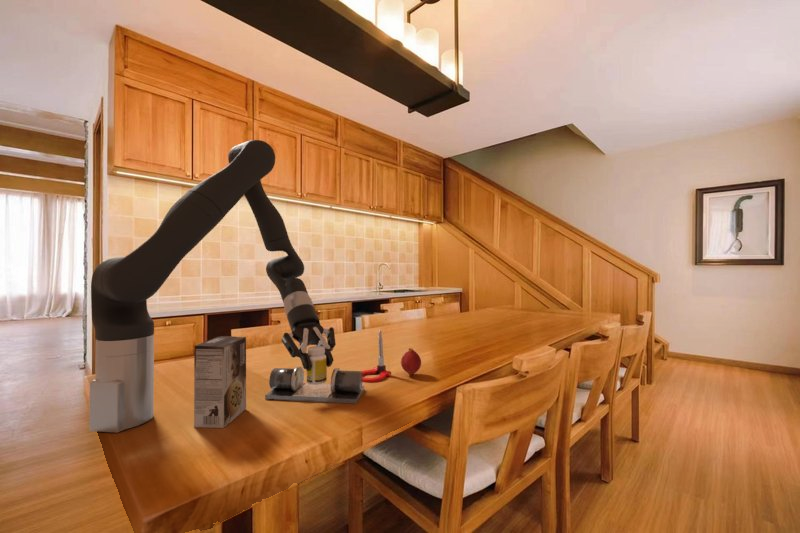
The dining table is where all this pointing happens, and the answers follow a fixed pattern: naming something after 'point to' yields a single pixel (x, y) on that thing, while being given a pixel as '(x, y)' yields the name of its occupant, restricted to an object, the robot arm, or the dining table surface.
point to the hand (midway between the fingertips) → (320, 366)
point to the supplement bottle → (317, 365)
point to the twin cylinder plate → (315, 386)
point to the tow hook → (381, 367)
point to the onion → (411, 362)
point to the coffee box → (219, 381)
